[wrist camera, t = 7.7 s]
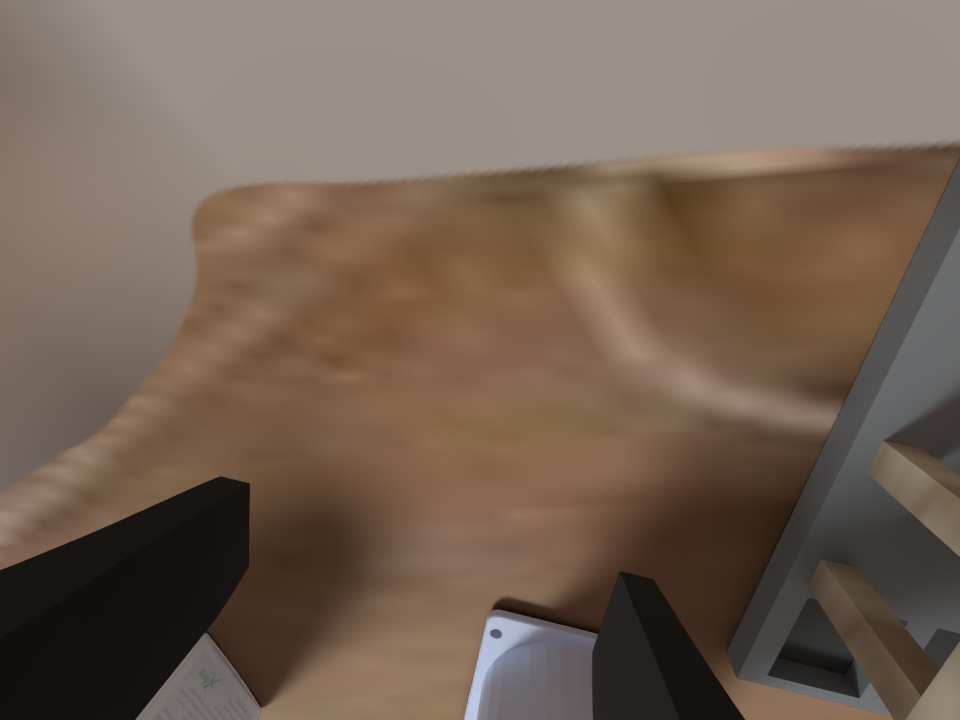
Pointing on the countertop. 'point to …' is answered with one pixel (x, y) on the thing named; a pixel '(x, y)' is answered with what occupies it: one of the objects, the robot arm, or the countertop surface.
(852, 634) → the wooden tunnel
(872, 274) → the countertop surface
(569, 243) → the countertop surface
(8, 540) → the countertop surface
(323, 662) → the countertop surface
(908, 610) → the board
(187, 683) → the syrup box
